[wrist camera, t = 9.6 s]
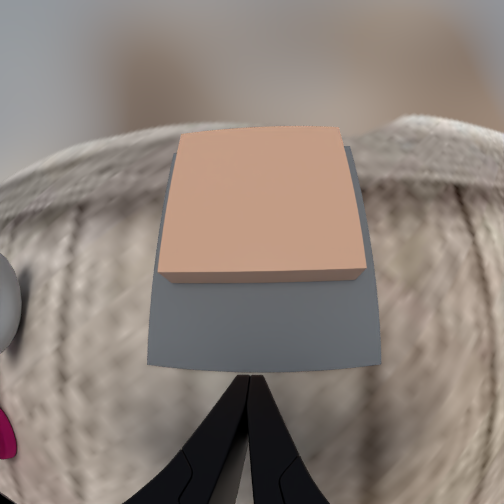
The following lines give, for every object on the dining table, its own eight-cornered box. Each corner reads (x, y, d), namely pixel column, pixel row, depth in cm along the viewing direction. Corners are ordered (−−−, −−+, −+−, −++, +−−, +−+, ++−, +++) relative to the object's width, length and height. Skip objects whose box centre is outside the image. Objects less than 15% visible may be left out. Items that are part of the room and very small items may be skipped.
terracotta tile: (366, 268, 15) (338, 127, 19) (157, 272, 16) (181, 134, 20) (354, 280, 17) (333, 149, 21) (172, 283, 18) (189, 154, 22)
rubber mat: (378, 364, 15) (381, 364, 15) (149, 364, 16) (147, 364, 16) (349, 149, 21) (349, 146, 21) (175, 156, 23) (173, 153, 22)
